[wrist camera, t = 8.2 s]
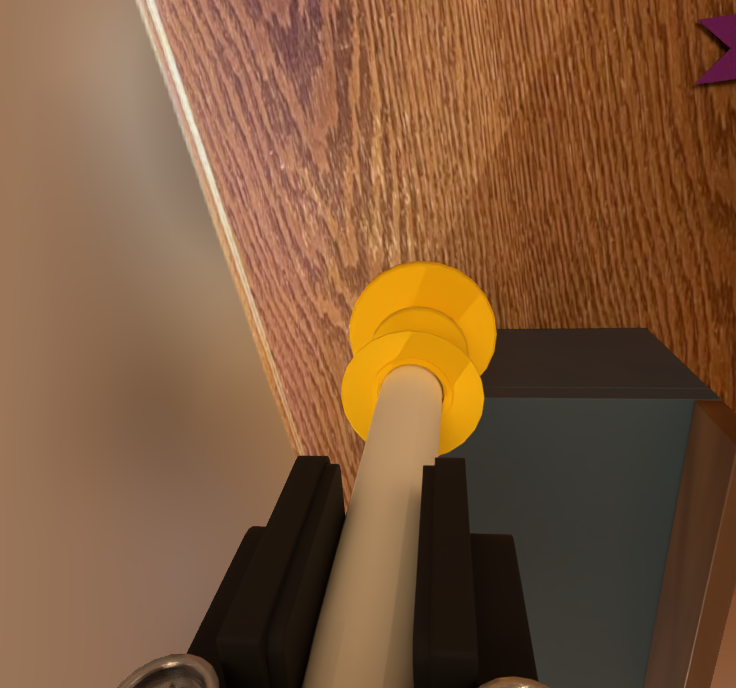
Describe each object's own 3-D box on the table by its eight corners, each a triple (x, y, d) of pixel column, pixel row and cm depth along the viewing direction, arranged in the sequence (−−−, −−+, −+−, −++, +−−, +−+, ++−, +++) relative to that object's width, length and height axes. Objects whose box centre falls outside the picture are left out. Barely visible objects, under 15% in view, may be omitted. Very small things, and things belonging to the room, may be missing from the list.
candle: (378, 409, 21) (215, 1004, 7) (330, 285, 19) (-13, 714, 5) (512, 376, 20) (665, 1026, 5) (472, 240, 18) (540, 646, 4)
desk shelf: (404, 562, 44) (388, 743, 31) (395, 329, 37) (370, 438, 24) (612, 573, 42) (690, 772, 29) (646, 327, 34) (770, 445, 21)
